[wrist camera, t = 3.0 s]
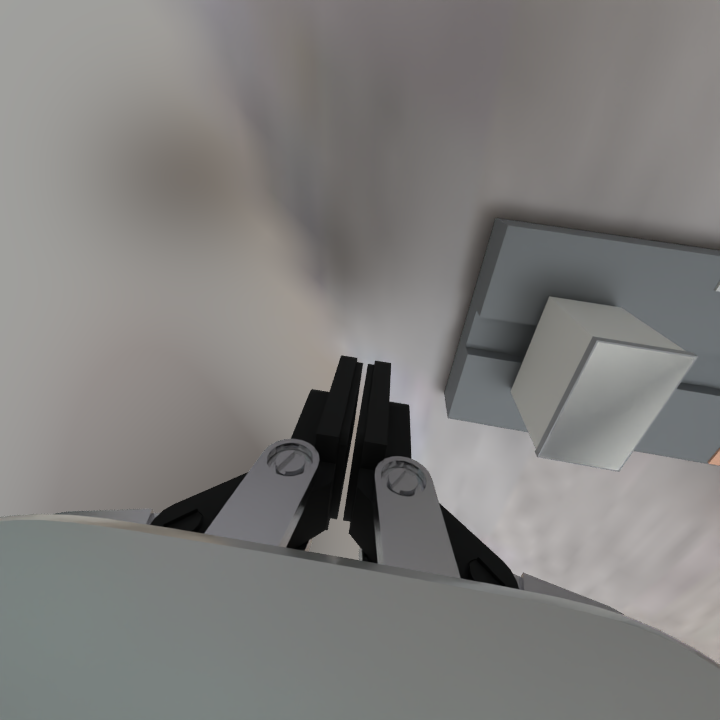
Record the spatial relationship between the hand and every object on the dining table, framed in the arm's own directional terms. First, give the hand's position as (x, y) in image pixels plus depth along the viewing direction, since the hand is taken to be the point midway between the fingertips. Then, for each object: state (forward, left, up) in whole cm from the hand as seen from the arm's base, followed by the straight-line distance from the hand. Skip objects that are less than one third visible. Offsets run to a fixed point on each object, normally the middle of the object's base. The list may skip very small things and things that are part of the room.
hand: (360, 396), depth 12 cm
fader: (-9, 0, -7) cm, 11 cm away
